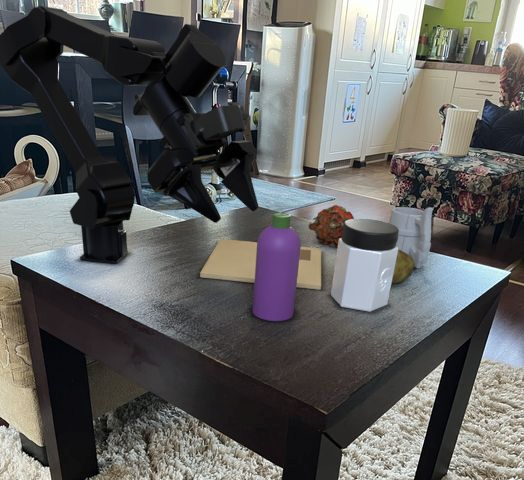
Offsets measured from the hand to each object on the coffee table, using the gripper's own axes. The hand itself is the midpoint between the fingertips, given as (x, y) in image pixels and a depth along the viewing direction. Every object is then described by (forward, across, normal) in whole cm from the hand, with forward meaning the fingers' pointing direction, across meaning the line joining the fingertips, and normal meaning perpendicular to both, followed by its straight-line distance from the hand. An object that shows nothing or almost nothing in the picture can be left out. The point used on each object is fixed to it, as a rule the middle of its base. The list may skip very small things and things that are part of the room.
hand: (238, 215), depth 75 cm
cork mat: (+5, +17, +13) cm, 22 cm away
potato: (+19, +24, 0) cm, 31 cm away
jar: (+20, +13, -1) cm, 24 cm away
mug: (+20, +35, -1) cm, 40 cm away
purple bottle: (+14, 0, +4) cm, 15 cm away
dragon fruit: (+8, +38, +11) cm, 40 cm away
